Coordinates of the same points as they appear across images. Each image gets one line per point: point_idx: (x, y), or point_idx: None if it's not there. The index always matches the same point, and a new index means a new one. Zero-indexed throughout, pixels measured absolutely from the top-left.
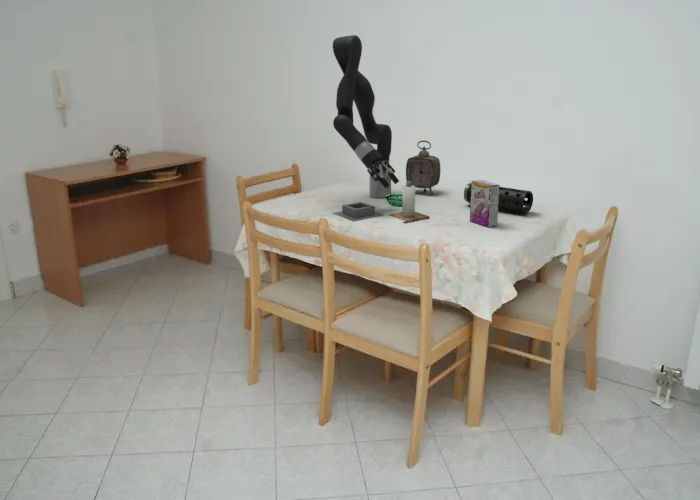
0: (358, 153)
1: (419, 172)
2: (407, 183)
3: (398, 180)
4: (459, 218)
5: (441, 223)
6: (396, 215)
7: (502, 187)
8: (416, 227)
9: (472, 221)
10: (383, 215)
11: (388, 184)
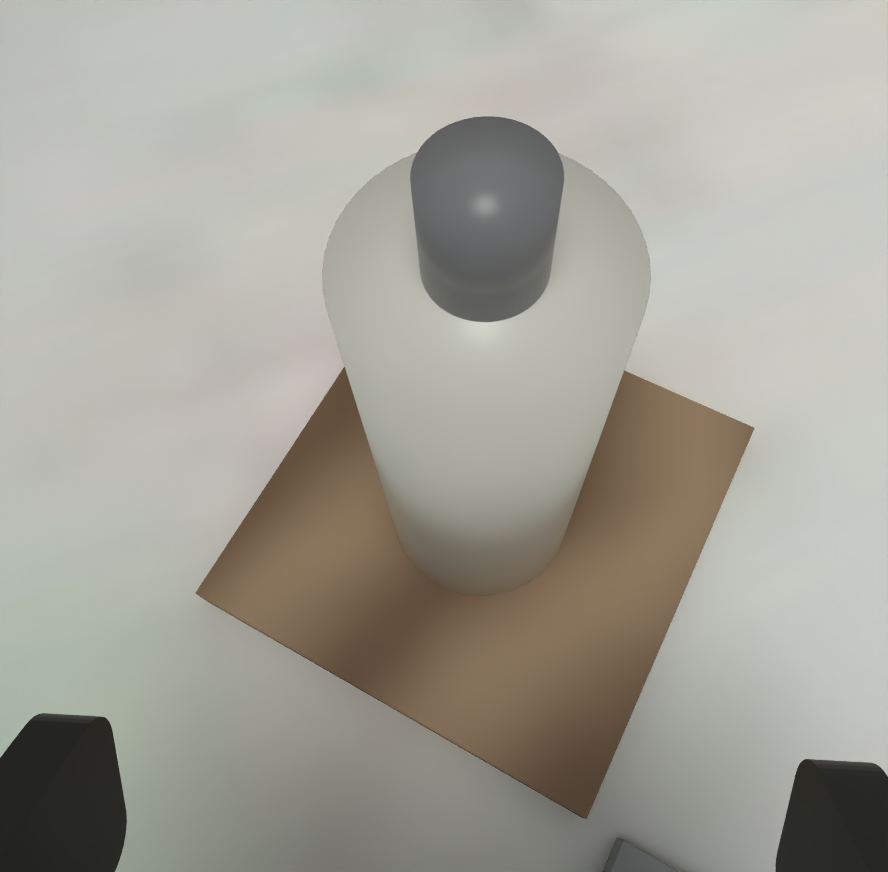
0: None
1: None
2: (556, 214)
3: (72, 718)
4: (275, 64)
5: None
6: (562, 663)
7: None
8: (813, 282)
9: None
10: (663, 867)
11: (875, 766)
